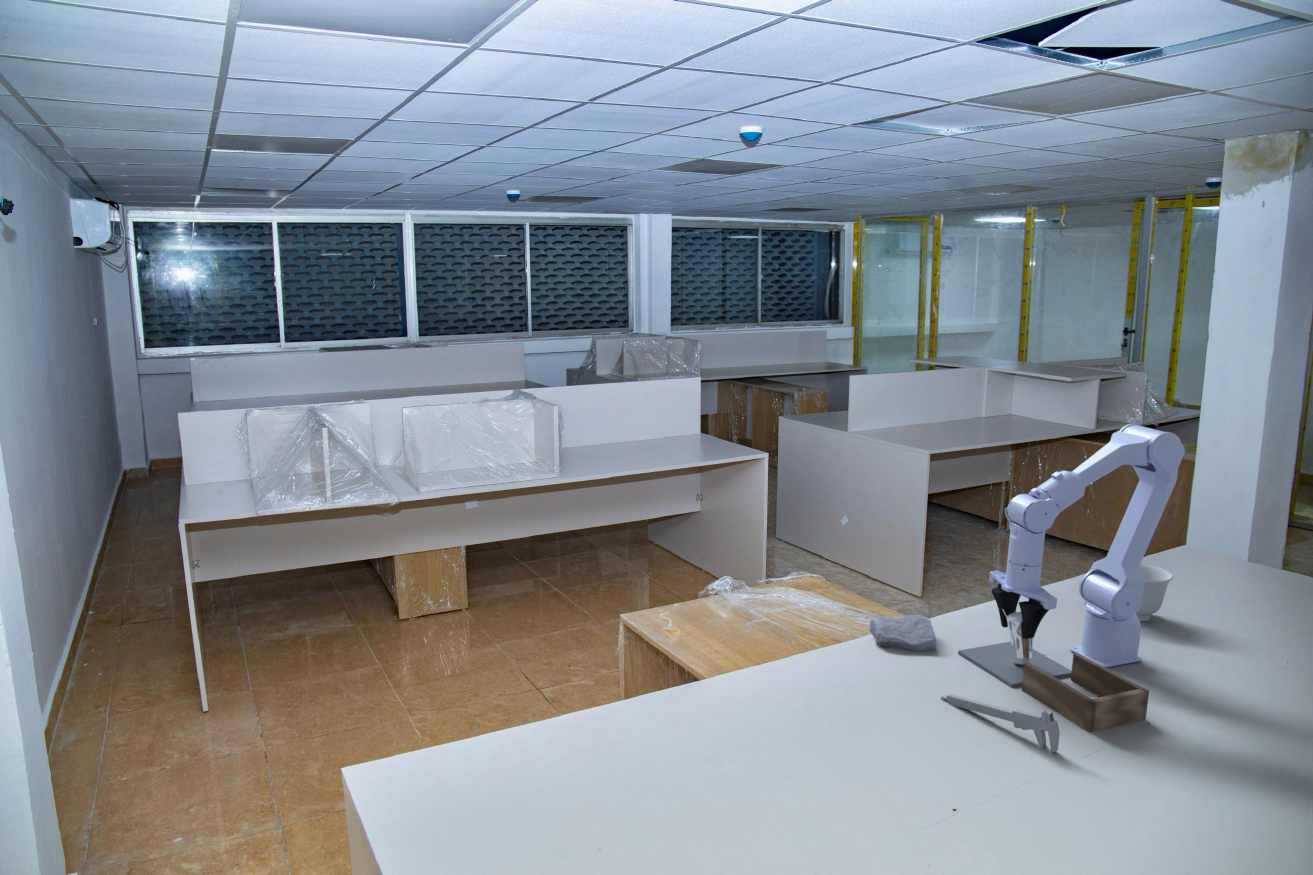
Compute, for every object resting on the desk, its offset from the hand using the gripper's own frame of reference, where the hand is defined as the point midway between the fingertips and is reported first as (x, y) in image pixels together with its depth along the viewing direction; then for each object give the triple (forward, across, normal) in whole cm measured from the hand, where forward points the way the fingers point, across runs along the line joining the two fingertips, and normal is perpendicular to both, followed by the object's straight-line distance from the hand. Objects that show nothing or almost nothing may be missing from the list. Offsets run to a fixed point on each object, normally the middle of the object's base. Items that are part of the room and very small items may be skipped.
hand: (1017, 631), depth 157 cm
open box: (+6, +16, 0) cm, 17 cm away
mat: (+6, 0, 0) cm, 6 cm away
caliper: (+7, +16, -18) cm, 25 cm away
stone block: (+7, -15, -13) cm, 21 cm away
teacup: (+6, -11, +40) cm, 42 cm away
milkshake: (+6, +2, 0) cm, 6 cm away
